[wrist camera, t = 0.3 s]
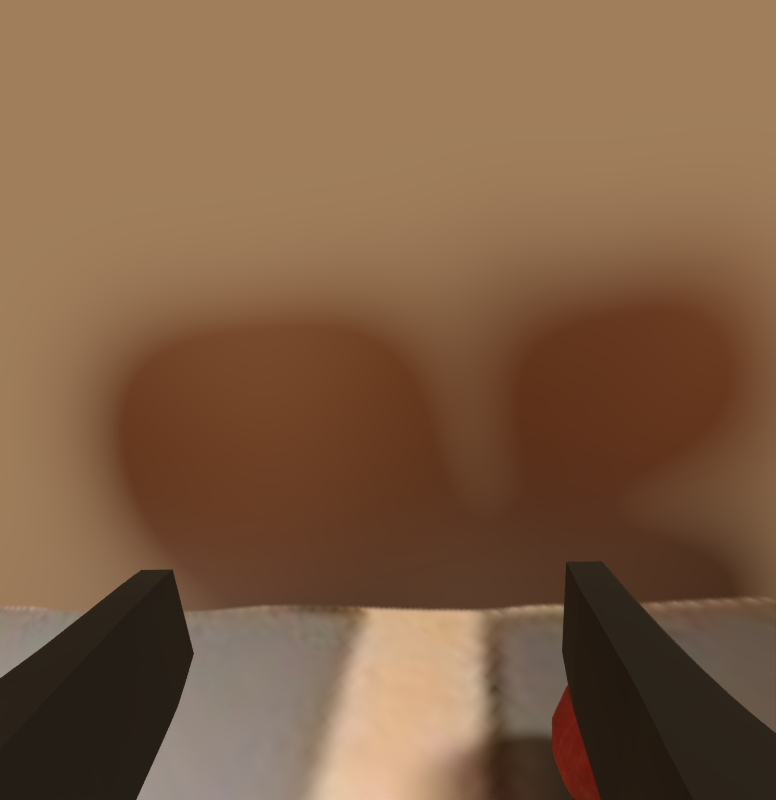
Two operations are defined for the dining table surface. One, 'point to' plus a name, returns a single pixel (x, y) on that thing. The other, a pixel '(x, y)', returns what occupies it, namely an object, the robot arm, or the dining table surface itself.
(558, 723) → the red pomegranate
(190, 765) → the dining table surface
